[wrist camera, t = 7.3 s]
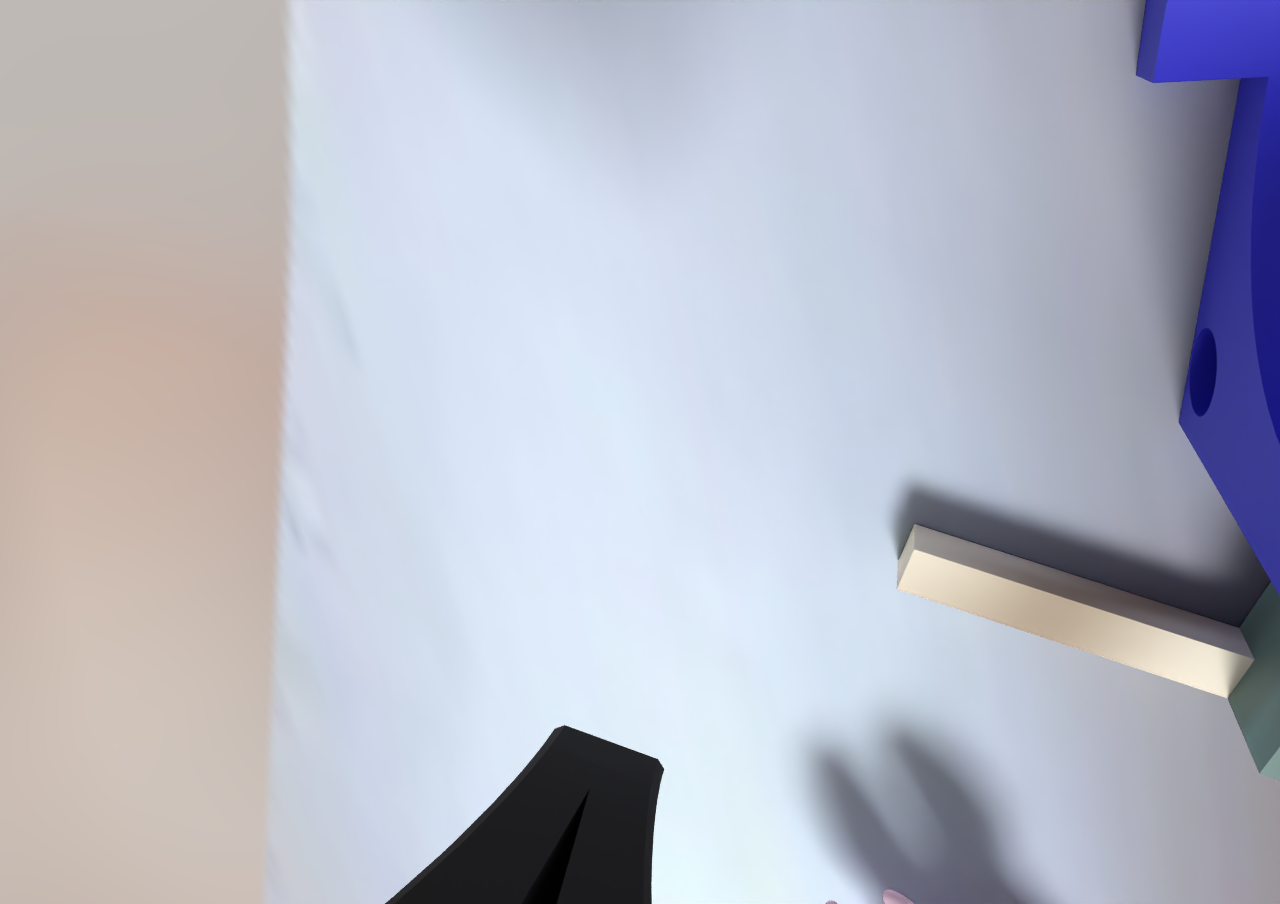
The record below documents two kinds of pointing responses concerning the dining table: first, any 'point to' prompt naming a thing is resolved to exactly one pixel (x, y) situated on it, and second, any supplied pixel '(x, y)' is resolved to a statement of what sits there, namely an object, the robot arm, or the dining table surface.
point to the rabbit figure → (889, 898)
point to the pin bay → (1113, 626)
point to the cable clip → (1235, 257)
